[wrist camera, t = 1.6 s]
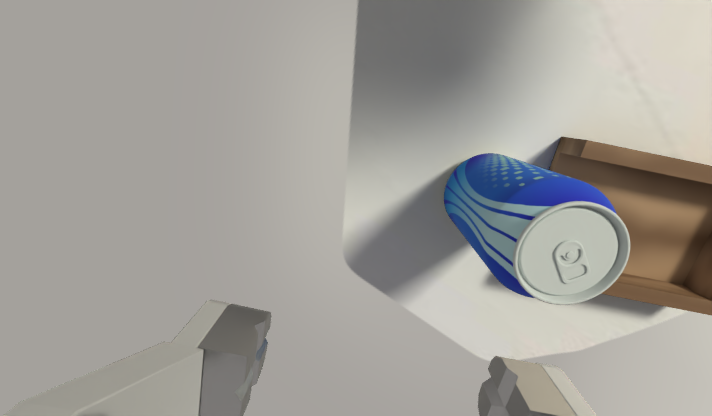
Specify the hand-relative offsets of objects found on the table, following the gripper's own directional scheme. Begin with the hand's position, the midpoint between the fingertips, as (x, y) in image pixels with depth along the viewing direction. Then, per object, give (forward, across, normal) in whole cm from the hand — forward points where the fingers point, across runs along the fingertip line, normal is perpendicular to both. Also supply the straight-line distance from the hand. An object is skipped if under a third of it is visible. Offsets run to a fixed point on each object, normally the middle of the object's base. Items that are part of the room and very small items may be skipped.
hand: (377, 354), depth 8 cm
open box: (+27, -27, 0) cm, 38 cm away
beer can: (+27, -12, 0) cm, 30 cm away
